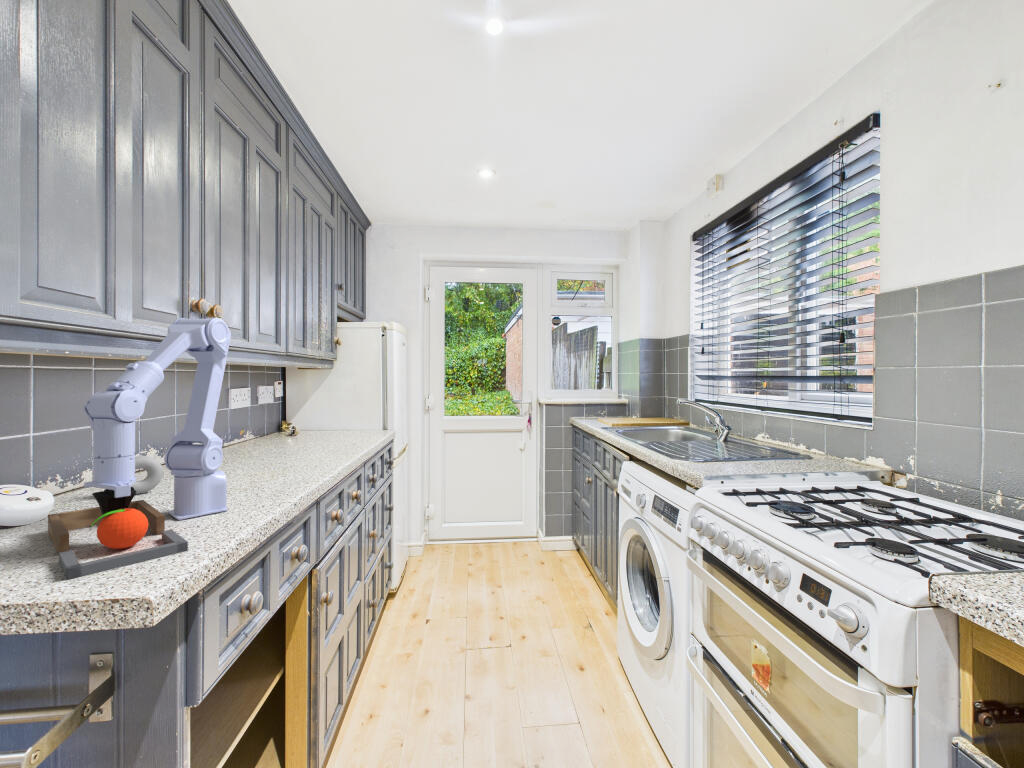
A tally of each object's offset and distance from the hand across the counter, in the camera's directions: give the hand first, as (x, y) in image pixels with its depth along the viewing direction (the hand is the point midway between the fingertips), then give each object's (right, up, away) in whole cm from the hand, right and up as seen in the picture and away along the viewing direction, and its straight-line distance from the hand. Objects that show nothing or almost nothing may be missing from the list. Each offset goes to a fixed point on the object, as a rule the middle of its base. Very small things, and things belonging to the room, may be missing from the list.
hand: (114, 529), depth 81 cm
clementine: (+3, -3, -3) cm, 5 cm away
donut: (-24, -2, +34) cm, 42 cm away
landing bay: (+7, -3, -6) cm, 10 cm away
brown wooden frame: (-5, -2, +4) cm, 7 cm away
